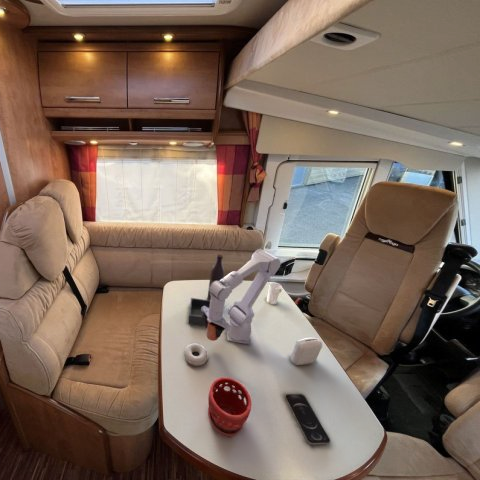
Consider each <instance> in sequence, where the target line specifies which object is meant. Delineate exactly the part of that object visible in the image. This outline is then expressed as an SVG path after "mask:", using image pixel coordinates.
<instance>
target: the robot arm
mask: <svg viewBox="0 0 480 480" xmlns="http://www.w3.org/2000/svg"><path fill="white" fill-rule="evenodd" d="M281 266H282V263H281V259H280V258H279V257H278V256H277V257H276V256H275V255H273V254H271V253H270V252H267V251H265V250H263V249H262V248H258V249H256V250H255V251H254V252H253V253H252V255H251V257H250V260H249V261H247V262H246V263H245V264H244V265H243V266H242V267H240V268H239V269H238V270H233V271H231V272H230V273H228V274H227V275H224V278H223V279H221V280H220V281H214V282H212V283H211V285H210V287H209V286H208V290H209V291H210V295H211V299H210V307H209V308H208V307H206V306H203V307H201V311H202V312H205V313H204V314H203V315H202V318H203V320H204V322H205V326H204V327H205V329H206V330H207V325H208V321H209V322H210V323H211V322H213V323H215V324H218V326H216V327H215V329H216V338H218V339H219V338H220V337H221V336H222V334H223V332H224V331H225V332H226V338H227V341H228V342H233V343H241V344H247V345H248V344H249V343H250V337H251V333H252V322H253V319H254V317H255V312H254V310H253V306H254V304H255V303H256V301H257V299H258V298H259V296H260V294H261V293H262V292H263V290H264V288H265V286H266V285H267V284H268V282H269V280H270V279H271V277H275V275H276V273H277V272H278V270H279V269H280V267H281ZM256 271H257V274H256V275H255V276H254V279H253V280H252V282H251V283H250V285H249V287H248V288H247V290H246V292H245V293H244V295H243V296H242V298H241V300H236V301H234V302H233V304H232V305H231V306H229V308H228V309H227V315H228V316H229V320H230V321H229V323H228V322H227V320H226V319H225V317H224V310H225V305H226V300H227V299H228V298H229V297H230V295H231V294H232V293H233V290H235V289H237V287H238V286H240V285H241V284H242V283H243V282H244V281H243V280H244V279H245V278H246V277H248V276H250V275H252V274H253V273H255V272H256Z"/></svg>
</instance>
